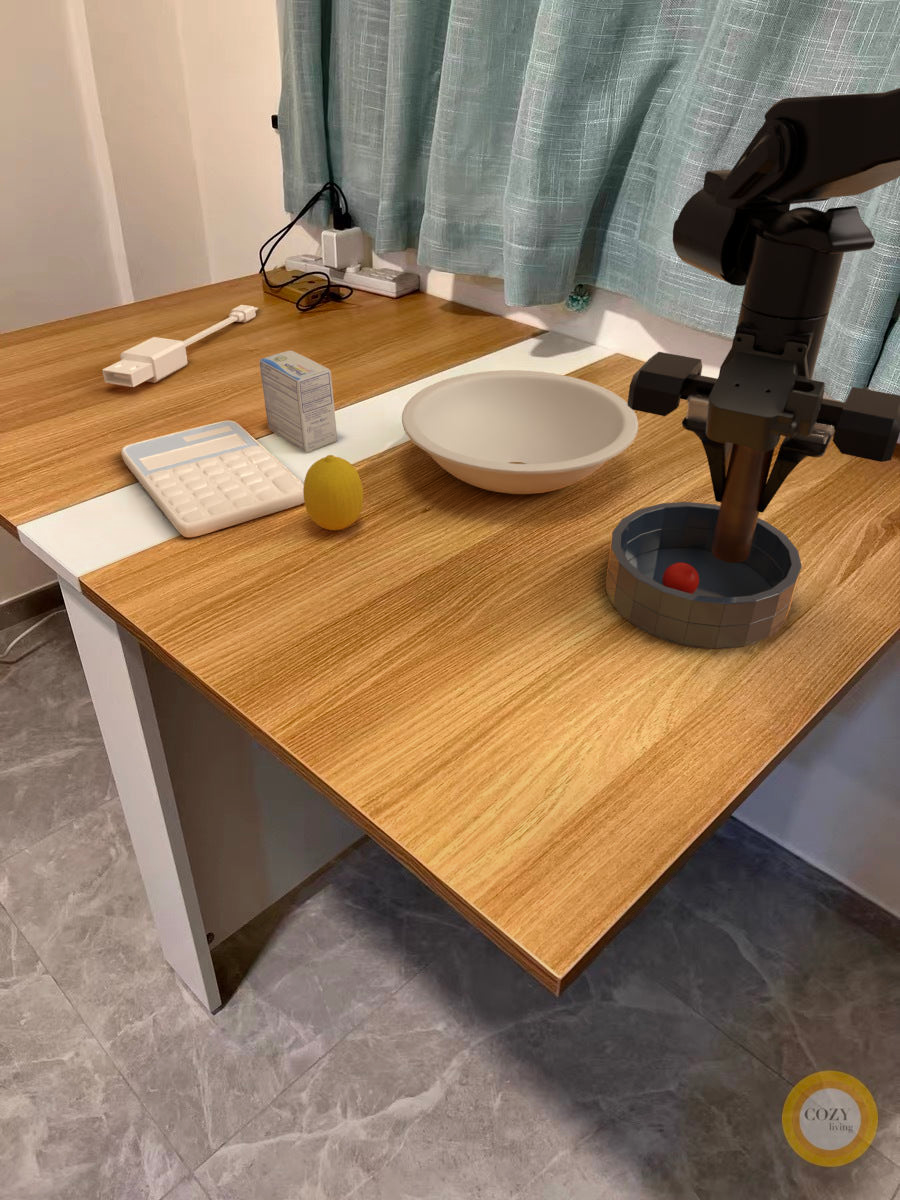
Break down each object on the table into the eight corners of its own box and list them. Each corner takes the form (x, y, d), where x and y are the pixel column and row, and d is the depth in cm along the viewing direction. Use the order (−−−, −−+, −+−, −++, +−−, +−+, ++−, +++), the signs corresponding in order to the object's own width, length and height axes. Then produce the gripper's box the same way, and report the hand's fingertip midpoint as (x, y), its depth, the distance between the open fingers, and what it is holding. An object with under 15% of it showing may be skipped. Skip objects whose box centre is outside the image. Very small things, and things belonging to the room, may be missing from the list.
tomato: (700, 590, 76) (706, 561, 74) (690, 609, 74) (696, 579, 72) (666, 580, 77) (671, 552, 75) (655, 598, 75) (660, 569, 73)
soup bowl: (573, 412, 106) (578, 359, 102) (672, 509, 88) (683, 449, 84) (379, 439, 100) (376, 383, 96) (442, 549, 82) (442, 487, 78)
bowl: (802, 577, 79) (816, 529, 76) (763, 676, 68) (778, 625, 65) (638, 533, 85) (645, 487, 82) (578, 618, 74) (584, 568, 71)
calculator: (185, 543, 83) (181, 525, 82) (120, 459, 96) (116, 443, 95) (313, 503, 89) (311, 486, 88) (235, 430, 102) (233, 414, 101)
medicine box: (338, 442, 100) (332, 368, 95) (305, 454, 97) (297, 379, 92) (299, 419, 105) (292, 348, 99) (267, 430, 102) (257, 358, 97)
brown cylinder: (752, 549, 73) (782, 425, 66) (743, 567, 71) (773, 441, 64) (716, 539, 74) (742, 417, 67) (706, 557, 72) (732, 432, 65)
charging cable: (269, 321, 134) (266, 298, 133) (137, 394, 109) (132, 367, 107) (240, 317, 136) (237, 295, 134) (103, 388, 111) (97, 362, 109)
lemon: (338, 553, 82) (331, 476, 77) (295, 534, 84) (286, 458, 79) (377, 528, 85) (373, 453, 80) (335, 510, 88) (329, 436, 83)
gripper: (614, 318, 58) (591, 522, 67) (921, 370, 51) (848, 590, 60) (665, 274, 66) (638, 462, 75) (938, 314, 59) (871, 516, 68)
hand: (740, 504), depth 70 cm, fingers closed on brown cylinder, 3 cm apart
